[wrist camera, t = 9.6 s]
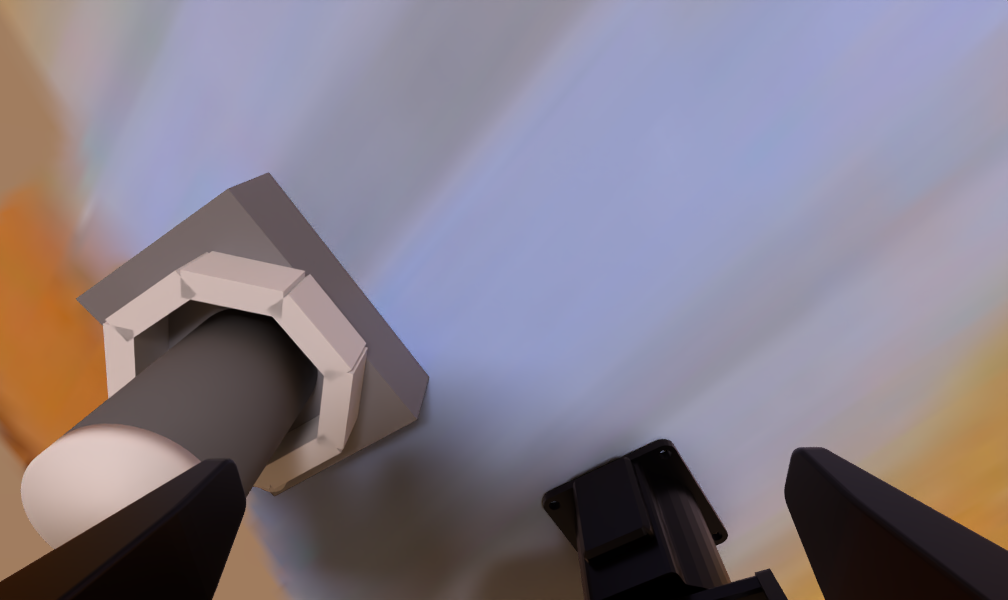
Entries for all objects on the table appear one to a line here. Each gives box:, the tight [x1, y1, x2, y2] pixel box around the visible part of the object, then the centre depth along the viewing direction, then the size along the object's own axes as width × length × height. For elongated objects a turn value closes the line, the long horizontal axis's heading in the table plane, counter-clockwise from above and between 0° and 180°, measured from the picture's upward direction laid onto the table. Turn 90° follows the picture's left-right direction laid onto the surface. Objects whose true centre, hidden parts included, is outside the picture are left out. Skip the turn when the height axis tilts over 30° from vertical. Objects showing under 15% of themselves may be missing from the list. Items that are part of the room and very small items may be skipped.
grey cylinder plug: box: [21, 308, 317, 549], centre depth 16 cm, size 4×4×7 cm
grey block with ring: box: [76, 173, 429, 496], centre depth 19 cm, size 10×8×5 cm
